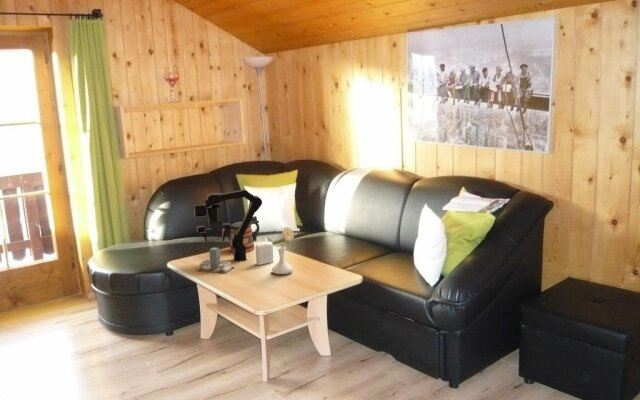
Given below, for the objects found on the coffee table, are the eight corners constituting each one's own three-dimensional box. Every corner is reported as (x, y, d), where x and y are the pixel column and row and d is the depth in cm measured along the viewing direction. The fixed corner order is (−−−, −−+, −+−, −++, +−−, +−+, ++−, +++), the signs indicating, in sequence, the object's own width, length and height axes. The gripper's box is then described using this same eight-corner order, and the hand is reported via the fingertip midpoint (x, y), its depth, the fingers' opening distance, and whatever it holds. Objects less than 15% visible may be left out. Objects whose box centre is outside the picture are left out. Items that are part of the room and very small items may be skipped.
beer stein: (254, 243, 377) (252, 213, 373) (264, 249, 365) (263, 217, 361) (226, 248, 368) (224, 217, 364) (235, 254, 355) (234, 222, 351)
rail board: (196, 271, 327) (196, 263, 326) (206, 265, 336) (205, 258, 335) (225, 273, 321) (225, 266, 320) (234, 268, 330) (234, 261, 329)
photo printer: (271, 260, 342) (270, 239, 339) (274, 262, 338) (273, 241, 336) (255, 264, 336) (254, 242, 334) (258, 265, 333) (257, 244, 330)
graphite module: (214, 266, 331) (213, 247, 328) (220, 267, 329) (219, 247, 327) (210, 268, 327) (209, 249, 325) (217, 269, 326) (215, 249, 323)
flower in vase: (276, 277, 312) (274, 231, 307) (268, 271, 322) (266, 227, 317) (299, 273, 318) (297, 228, 313) (290, 267, 328) (288, 223, 323)
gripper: (197, 220, 325) (199, 247, 328) (231, 217, 331) (233, 244, 334) (195, 216, 336) (197, 242, 339) (228, 213, 341) (230, 239, 344)
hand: (214, 242), depth 339 cm, fingers open, 9 cm apart
